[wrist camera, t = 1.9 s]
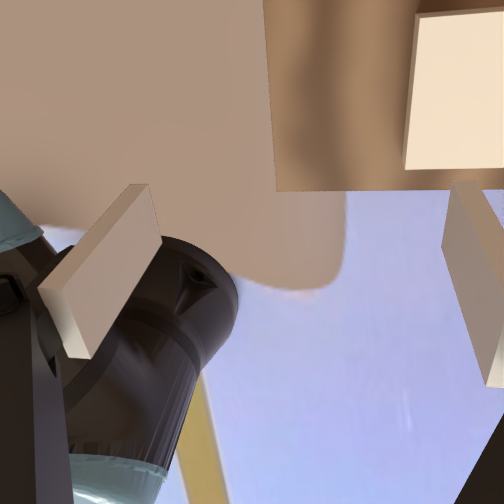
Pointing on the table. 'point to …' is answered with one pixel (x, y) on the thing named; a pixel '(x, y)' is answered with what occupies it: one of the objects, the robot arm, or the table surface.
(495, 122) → the tile
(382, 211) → the table surface
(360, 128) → the wooden block
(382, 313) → the table surface
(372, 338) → the table surface
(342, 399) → the table surface
